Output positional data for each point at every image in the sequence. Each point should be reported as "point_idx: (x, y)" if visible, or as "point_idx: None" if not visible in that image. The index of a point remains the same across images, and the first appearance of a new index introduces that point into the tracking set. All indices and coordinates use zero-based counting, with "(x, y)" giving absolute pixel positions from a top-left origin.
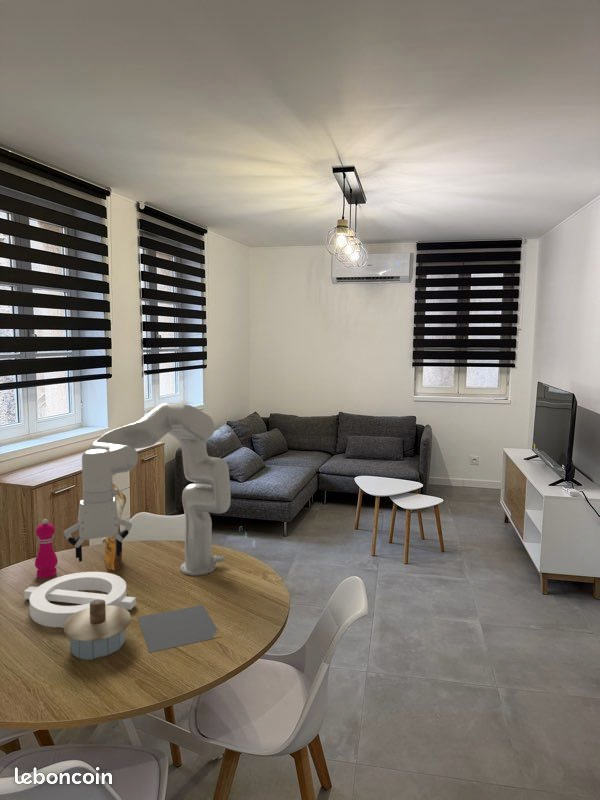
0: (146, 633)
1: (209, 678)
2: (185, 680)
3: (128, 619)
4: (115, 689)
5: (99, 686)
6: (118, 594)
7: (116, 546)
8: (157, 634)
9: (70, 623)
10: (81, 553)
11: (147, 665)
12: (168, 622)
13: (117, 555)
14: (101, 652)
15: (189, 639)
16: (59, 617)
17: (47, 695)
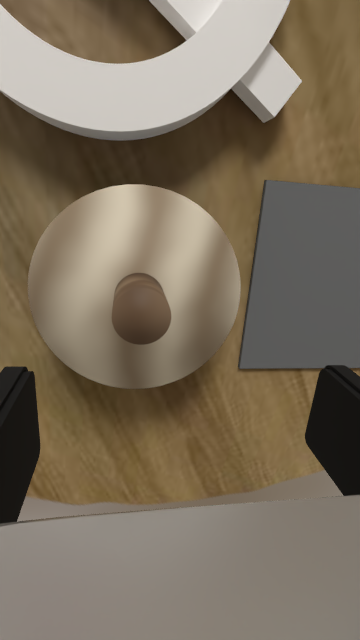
0: (259, 285)
1: (304, 472)
2: (267, 465)
3: (226, 329)
4: (146, 452)
5: (119, 435)
6: (252, 40)
7: (351, 467)
8: (281, 301)
9: (50, 280)
10: (16, 510)
11: (221, 402)
12: (327, 253)
13: (308, 443)
14: None
15: (333, 352)
16: (18, 103)
17: None
